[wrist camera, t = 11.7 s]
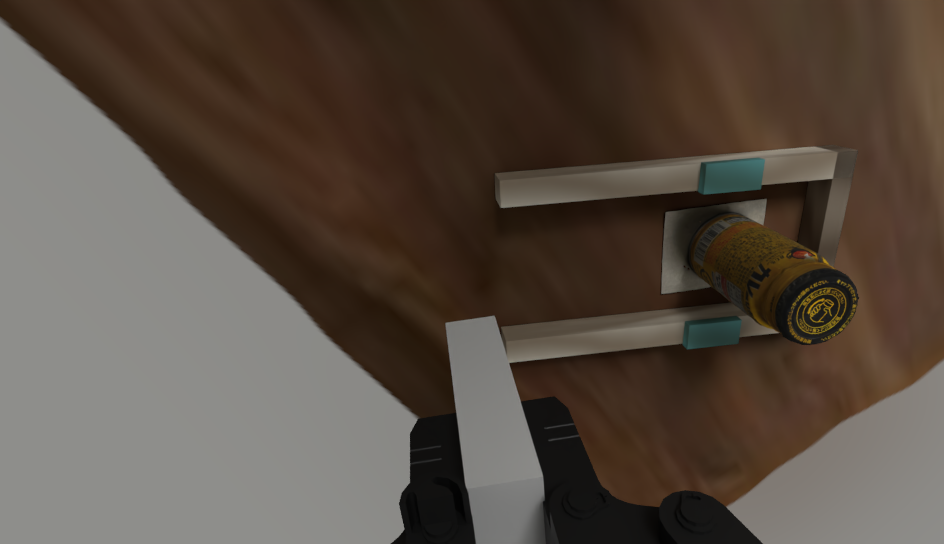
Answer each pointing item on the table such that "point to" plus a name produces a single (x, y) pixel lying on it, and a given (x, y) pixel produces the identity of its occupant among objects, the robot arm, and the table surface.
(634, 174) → the rail track
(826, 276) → the condiment
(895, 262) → the table surface
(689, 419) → the table surface
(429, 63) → the table surface
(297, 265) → the table surface
